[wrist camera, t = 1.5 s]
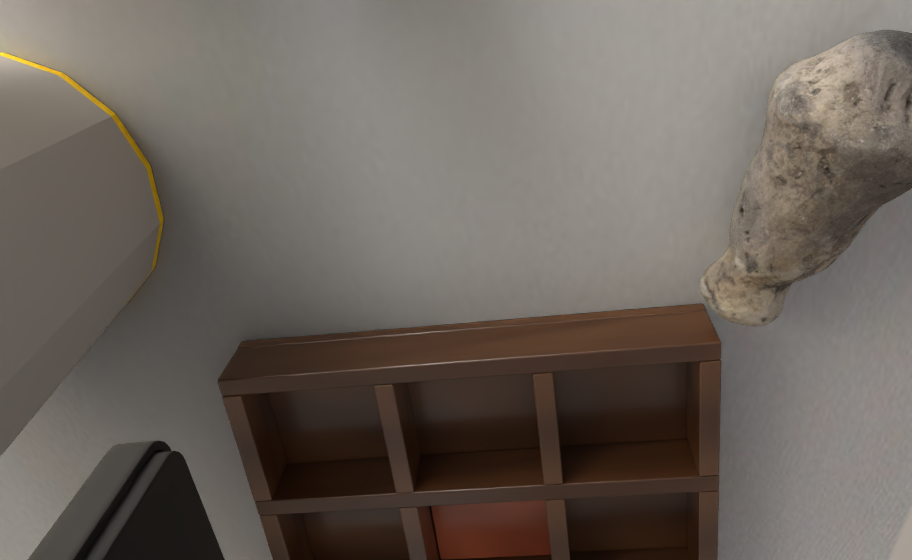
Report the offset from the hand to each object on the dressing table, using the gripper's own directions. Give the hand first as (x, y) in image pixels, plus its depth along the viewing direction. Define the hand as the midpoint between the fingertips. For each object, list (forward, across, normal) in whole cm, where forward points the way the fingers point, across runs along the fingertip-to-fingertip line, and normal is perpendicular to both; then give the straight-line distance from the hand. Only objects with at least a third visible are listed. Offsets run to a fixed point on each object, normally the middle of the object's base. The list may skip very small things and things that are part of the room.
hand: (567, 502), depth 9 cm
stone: (+21, -9, +4) cm, 23 cm away
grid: (+20, +4, +19) cm, 28 cm away
